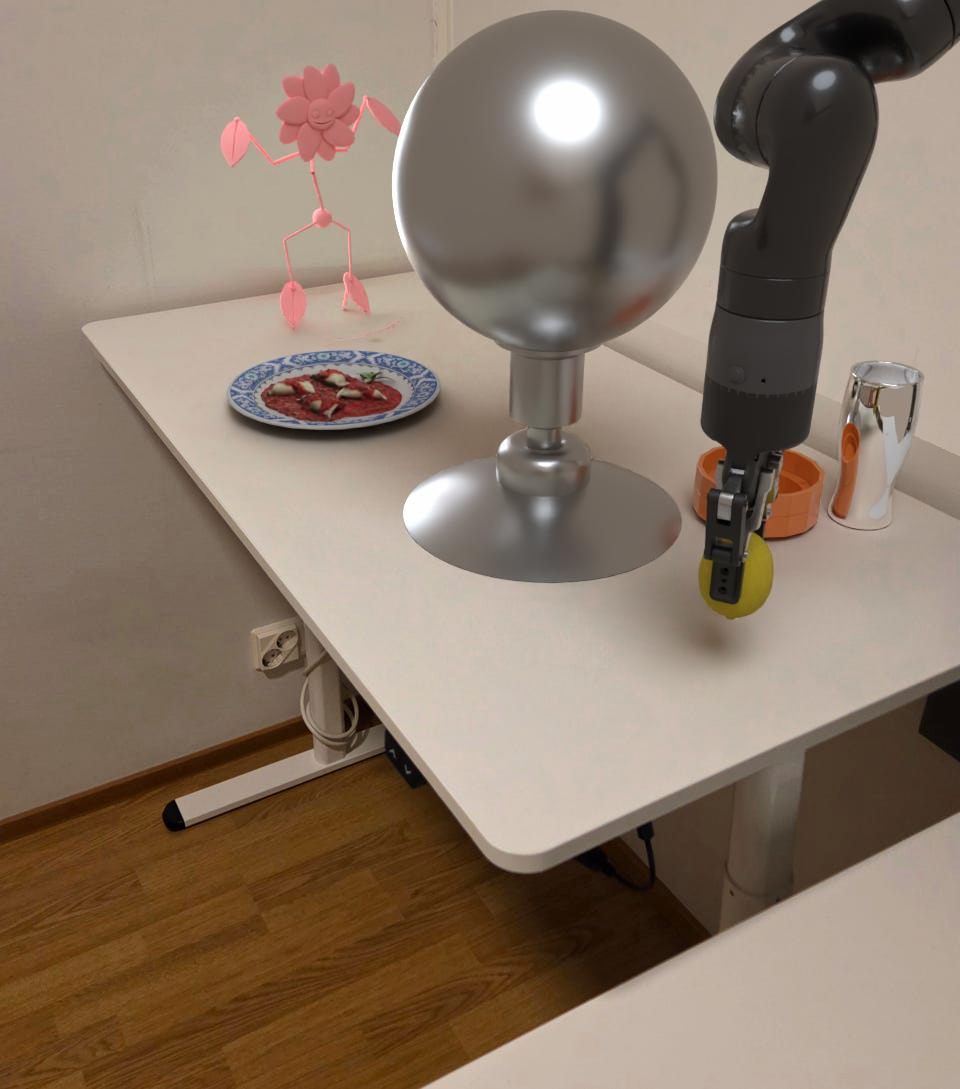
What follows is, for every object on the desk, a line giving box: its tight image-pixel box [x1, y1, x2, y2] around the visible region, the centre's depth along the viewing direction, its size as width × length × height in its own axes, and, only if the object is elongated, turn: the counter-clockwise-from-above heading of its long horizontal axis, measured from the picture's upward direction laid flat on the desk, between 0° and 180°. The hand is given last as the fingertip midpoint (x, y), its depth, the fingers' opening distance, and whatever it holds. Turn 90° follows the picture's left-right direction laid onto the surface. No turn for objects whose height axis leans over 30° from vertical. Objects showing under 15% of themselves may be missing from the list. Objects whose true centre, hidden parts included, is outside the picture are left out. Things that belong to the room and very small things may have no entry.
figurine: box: [220, 63, 402, 337], centre depth 152 cm, size 15×26×35 cm, turn 122°
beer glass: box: [827, 360, 925, 531], centre depth 106 cm, size 7×7×15 cm
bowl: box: [692, 445, 826, 539], centre depth 108 cm, size 12×12×5 cm
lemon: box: [697, 532, 775, 621], centre depth 83 cm, size 6×6×8 cm
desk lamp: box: [391, 9, 719, 583], centre depth 99 cm, size 28×28×45 cm
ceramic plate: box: [225, 349, 442, 431], centre depth 134 cm, size 26×26×3 cm
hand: (735, 579), depth 83 cm, fingers closed on lemon, 5 cm apart
